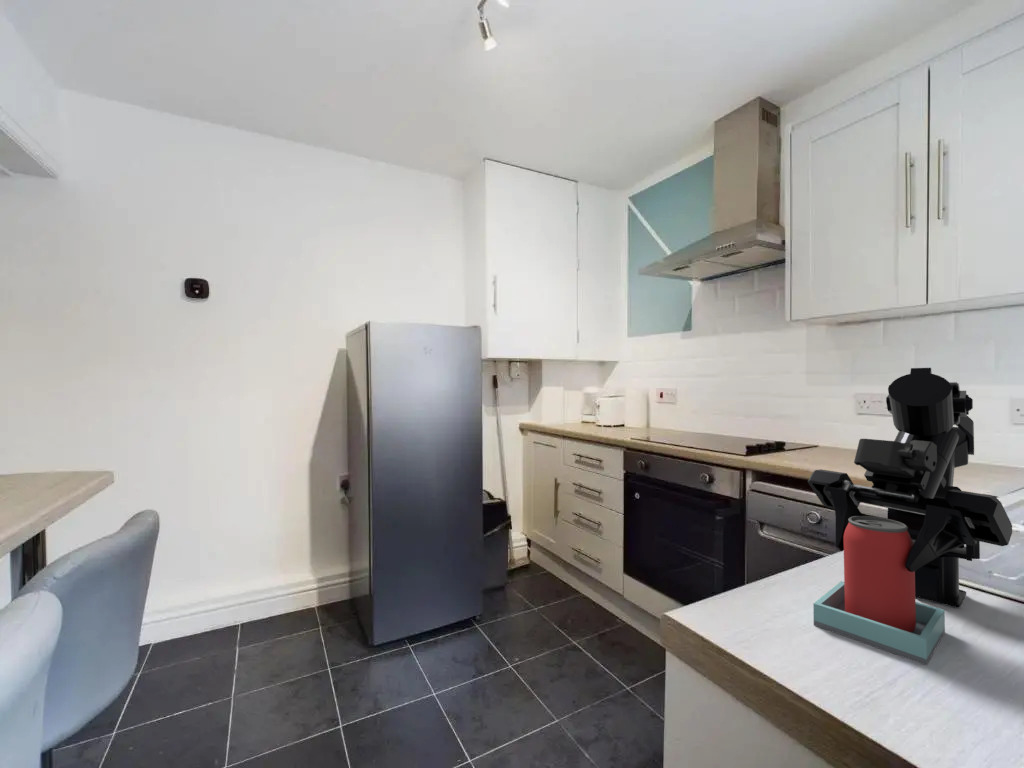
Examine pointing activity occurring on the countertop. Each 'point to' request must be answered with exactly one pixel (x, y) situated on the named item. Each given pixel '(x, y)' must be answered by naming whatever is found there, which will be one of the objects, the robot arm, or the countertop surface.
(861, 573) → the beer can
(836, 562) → the countertop surface
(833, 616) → the tray
